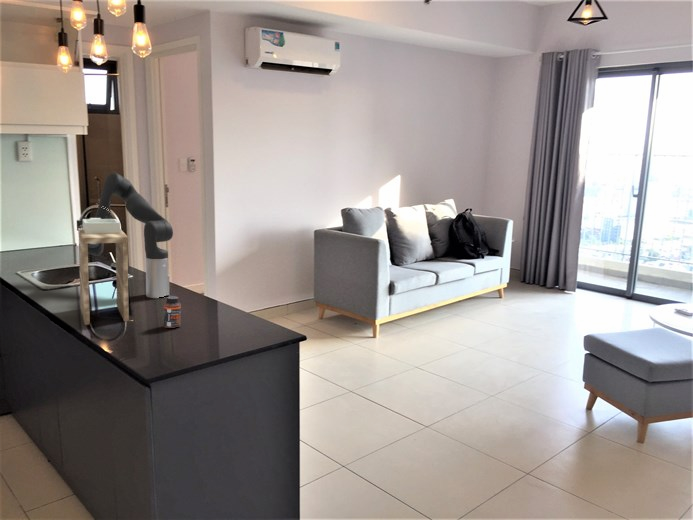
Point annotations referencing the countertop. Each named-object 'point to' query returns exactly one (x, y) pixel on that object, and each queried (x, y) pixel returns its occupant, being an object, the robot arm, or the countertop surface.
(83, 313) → the oak shelf
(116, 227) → the tray
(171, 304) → the supplement bottle
